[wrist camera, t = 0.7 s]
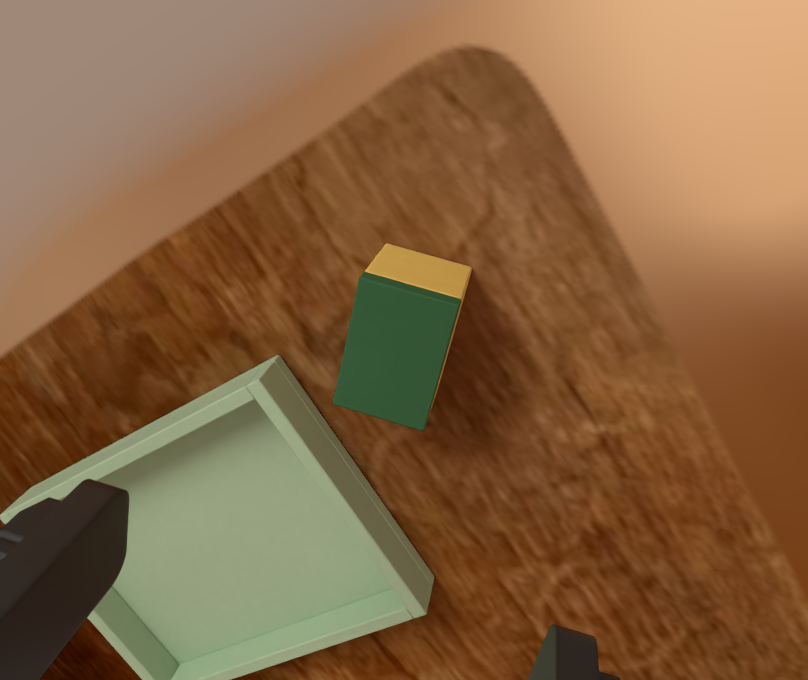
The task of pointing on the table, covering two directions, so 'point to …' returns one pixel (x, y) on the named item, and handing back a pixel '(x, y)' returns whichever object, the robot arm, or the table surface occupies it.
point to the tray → (244, 536)
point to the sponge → (400, 335)
